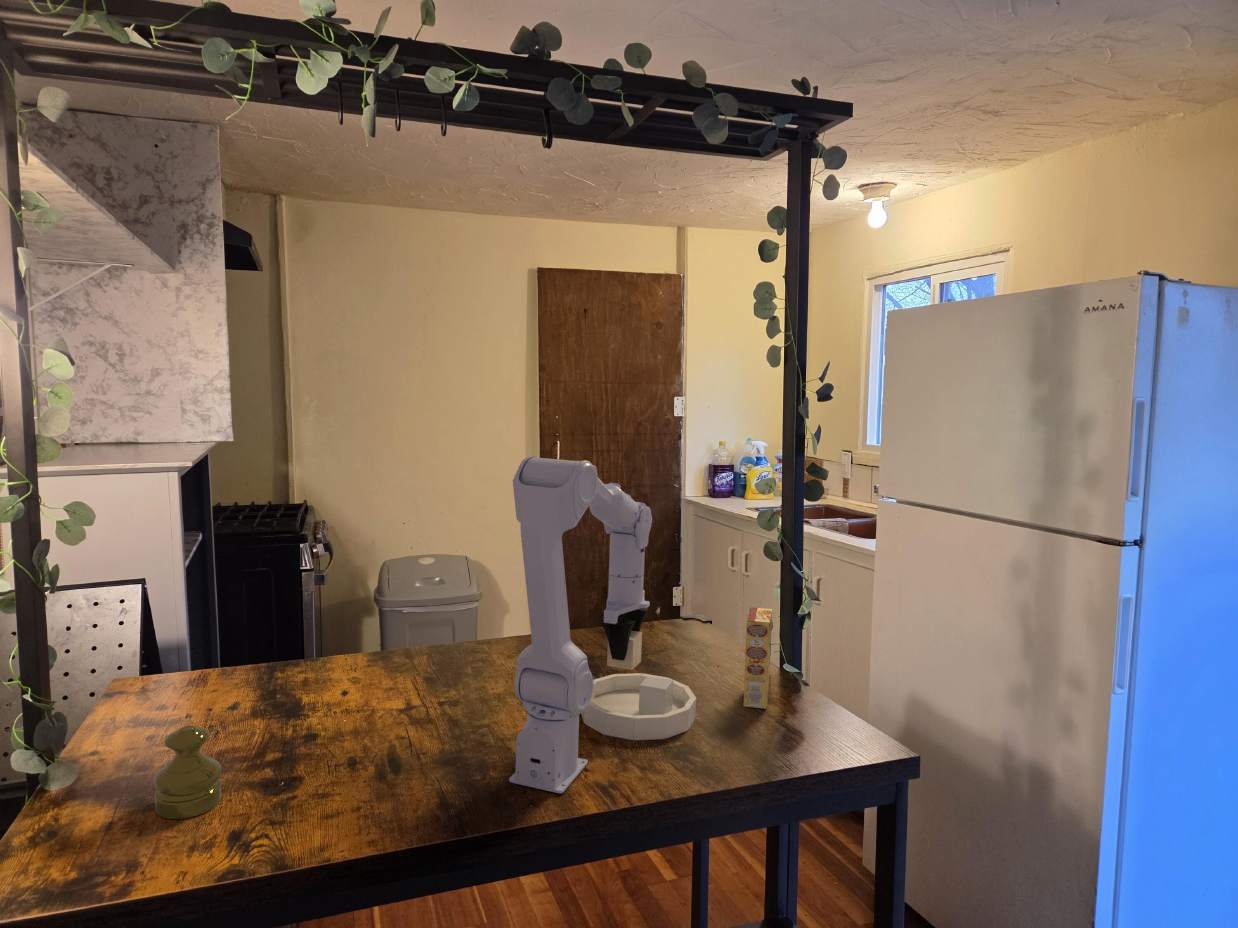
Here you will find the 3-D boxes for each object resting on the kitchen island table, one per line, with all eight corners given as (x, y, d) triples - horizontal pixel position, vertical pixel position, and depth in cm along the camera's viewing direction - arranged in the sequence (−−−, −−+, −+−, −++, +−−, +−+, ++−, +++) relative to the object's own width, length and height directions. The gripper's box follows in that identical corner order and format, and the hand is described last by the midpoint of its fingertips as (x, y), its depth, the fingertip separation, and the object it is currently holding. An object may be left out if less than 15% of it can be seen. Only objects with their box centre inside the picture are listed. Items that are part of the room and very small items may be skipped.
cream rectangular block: (632, 669, 127) (633, 639, 126) (607, 665, 128) (608, 635, 128) (641, 661, 131) (642, 632, 130) (616, 657, 132) (617, 628, 132)
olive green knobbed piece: (142, 821, 94) (140, 741, 93) (171, 789, 102) (170, 715, 101) (207, 820, 95) (205, 741, 94) (231, 788, 102) (230, 715, 101)
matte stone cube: (664, 719, 126) (665, 689, 125) (638, 714, 127) (639, 684, 127) (672, 709, 130) (673, 680, 129) (647, 704, 131) (648, 675, 131)
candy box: (766, 710, 133) (771, 622, 132) (741, 707, 134) (746, 620, 133) (768, 690, 142) (773, 608, 140) (745, 688, 143) (749, 606, 141)
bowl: (676, 748, 118) (677, 726, 118) (563, 726, 124) (564, 705, 124) (705, 703, 135) (706, 683, 135) (605, 686, 142) (605, 667, 141)
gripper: (635, 586, 120) (632, 672, 121) (662, 567, 134) (659, 644, 135) (592, 581, 122) (589, 665, 124) (623, 562, 136) (621, 638, 137)
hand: (623, 654), depth 129 cm, fingers closed on cream rectangular block, 4 cm apart
